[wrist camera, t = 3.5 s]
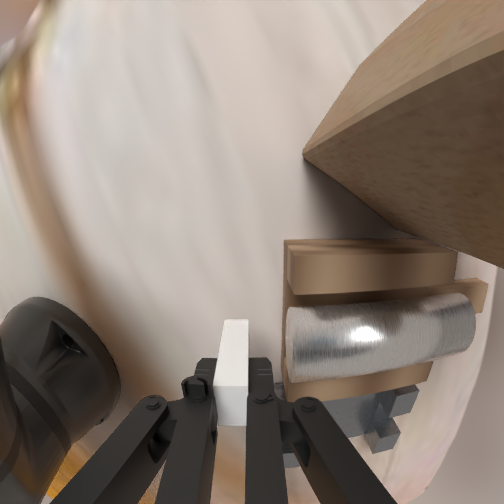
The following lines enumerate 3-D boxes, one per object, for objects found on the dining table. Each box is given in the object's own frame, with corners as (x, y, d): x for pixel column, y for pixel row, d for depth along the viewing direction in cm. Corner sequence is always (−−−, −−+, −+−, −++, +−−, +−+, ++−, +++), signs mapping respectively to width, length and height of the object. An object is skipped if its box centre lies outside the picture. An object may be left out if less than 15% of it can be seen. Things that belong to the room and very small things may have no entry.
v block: (271, 441, 25) (274, 468, 21) (274, 383, 23) (278, 413, 19) (381, 425, 25) (392, 448, 21) (401, 367, 23) (419, 390, 19)
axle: (284, 346, 21) (291, 397, 16) (288, 292, 18) (299, 343, 14) (433, 328, 21) (458, 365, 16) (450, 281, 19) (484, 316, 14)
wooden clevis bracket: (280, 366, 23) (287, 404, 18) (283, 239, 20) (294, 256, 15) (461, 338, 23) (487, 360, 18) (481, 239, 20) (515, 250, 16)
